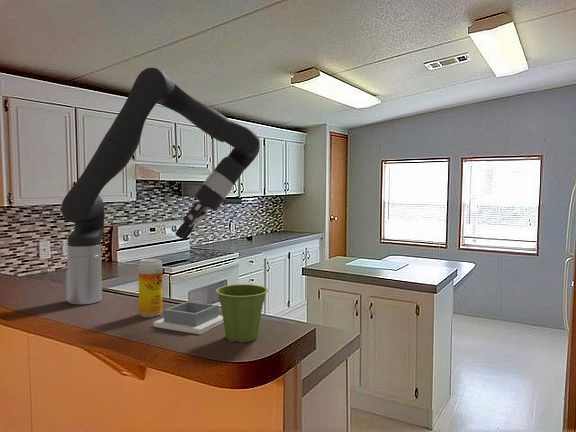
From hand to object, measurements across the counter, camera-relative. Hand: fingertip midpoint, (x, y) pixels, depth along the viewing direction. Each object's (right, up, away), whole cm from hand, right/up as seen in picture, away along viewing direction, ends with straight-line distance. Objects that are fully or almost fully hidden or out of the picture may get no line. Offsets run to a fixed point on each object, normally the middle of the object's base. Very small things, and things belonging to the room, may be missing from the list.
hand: (180, 237), depth 123 cm
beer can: (-7, -21, -3) cm, 23 cm away
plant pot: (+20, -22, -22) cm, 37 cm away
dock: (+6, -21, -11) cm, 25 cm away
